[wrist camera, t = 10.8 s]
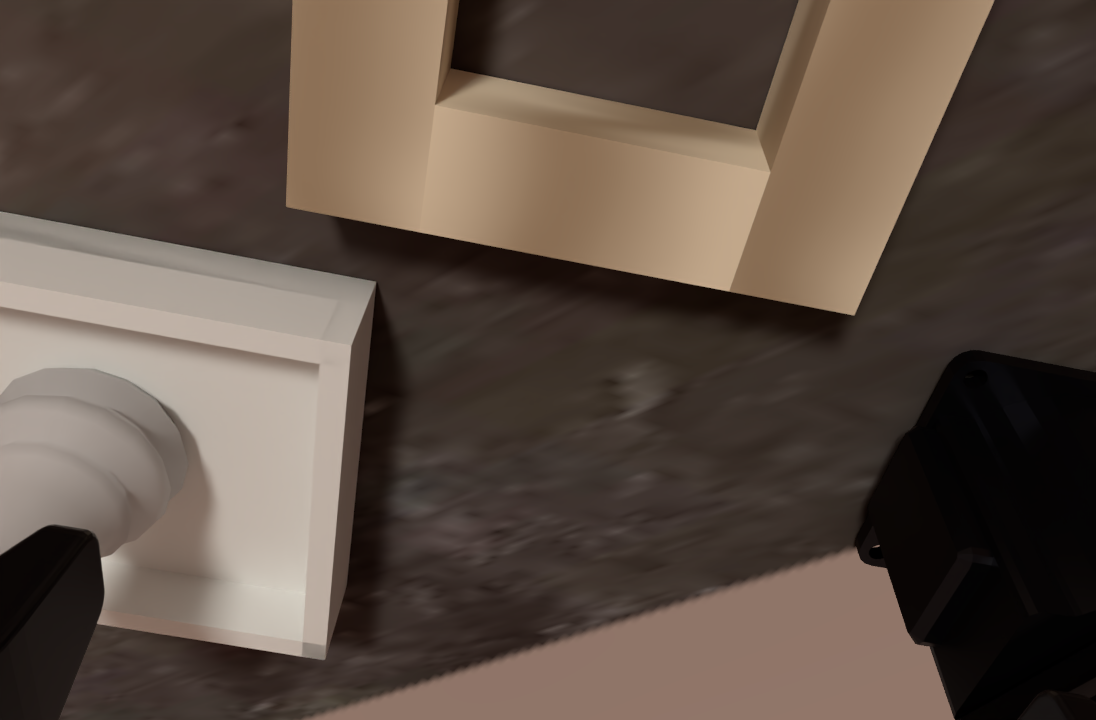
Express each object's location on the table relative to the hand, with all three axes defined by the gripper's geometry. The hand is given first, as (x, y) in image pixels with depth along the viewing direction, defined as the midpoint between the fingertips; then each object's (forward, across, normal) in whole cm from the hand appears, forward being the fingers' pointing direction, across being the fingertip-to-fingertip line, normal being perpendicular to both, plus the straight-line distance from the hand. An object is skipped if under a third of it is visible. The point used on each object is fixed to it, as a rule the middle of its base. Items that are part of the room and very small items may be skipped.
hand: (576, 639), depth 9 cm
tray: (+12, +10, +9) cm, 18 cm away
